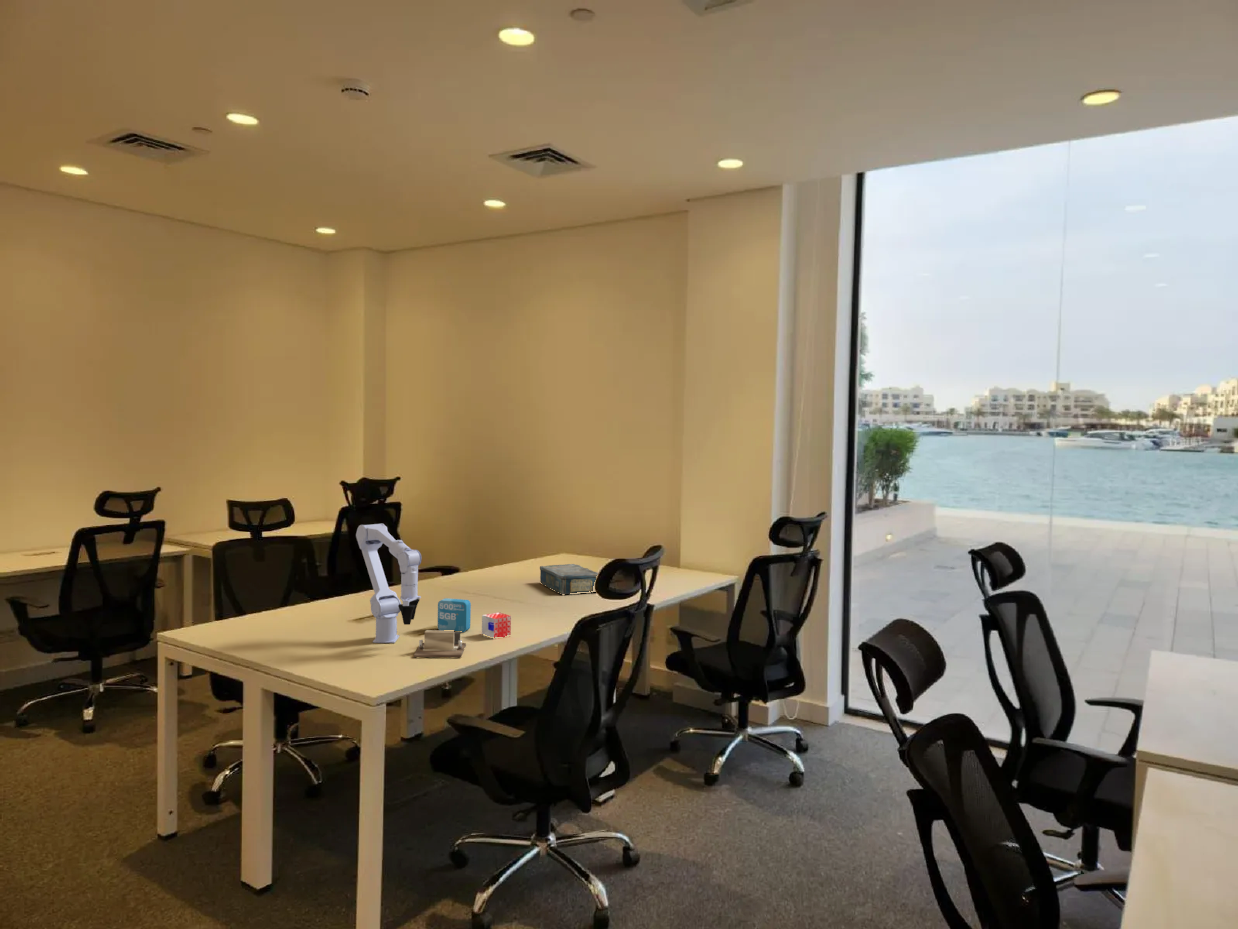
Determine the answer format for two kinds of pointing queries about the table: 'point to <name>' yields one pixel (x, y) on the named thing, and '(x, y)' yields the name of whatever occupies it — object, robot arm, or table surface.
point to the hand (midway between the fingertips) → (408, 621)
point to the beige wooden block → (439, 639)
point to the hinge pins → (422, 644)
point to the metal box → (567, 578)
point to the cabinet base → (442, 650)
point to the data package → (454, 614)
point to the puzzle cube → (496, 625)
